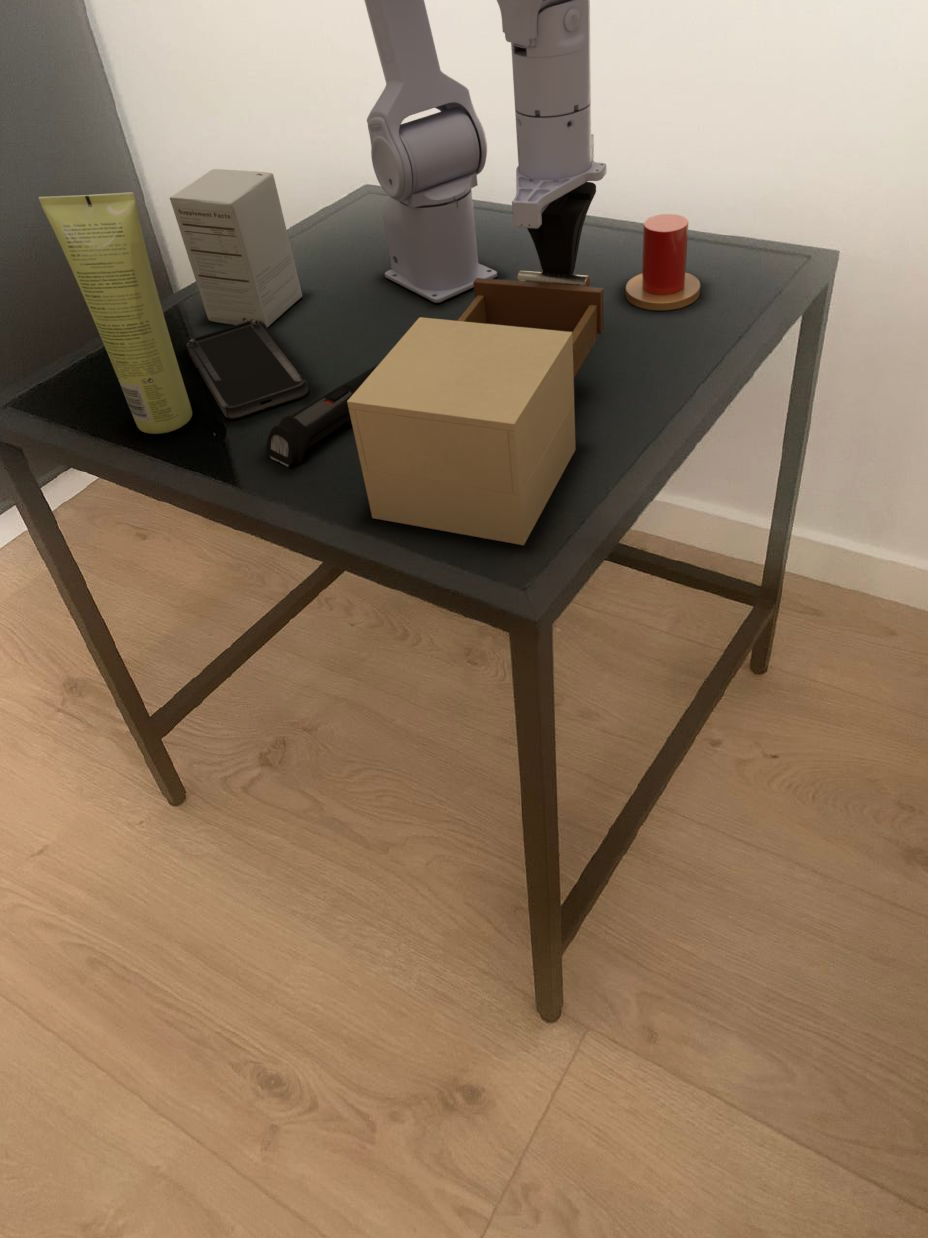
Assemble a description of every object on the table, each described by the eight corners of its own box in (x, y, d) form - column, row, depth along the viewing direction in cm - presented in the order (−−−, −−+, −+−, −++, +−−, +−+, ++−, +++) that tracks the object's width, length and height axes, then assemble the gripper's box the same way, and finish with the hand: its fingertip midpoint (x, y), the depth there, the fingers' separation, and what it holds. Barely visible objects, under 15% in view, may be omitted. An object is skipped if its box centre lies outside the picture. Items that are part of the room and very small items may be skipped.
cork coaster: (610, 295, 92) (610, 287, 92) (661, 270, 95) (661, 262, 94) (663, 318, 88) (663, 310, 87) (715, 291, 91) (716, 283, 90)
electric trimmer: (426, 385, 84) (422, 353, 82) (294, 470, 76) (285, 437, 74) (396, 374, 86) (391, 342, 84) (264, 455, 78) (255, 422, 76)
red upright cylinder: (633, 286, 91) (634, 224, 87) (662, 272, 93) (665, 210, 89) (663, 299, 89) (666, 235, 85) (693, 284, 90) (697, 220, 86)
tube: (186, 396, 87) (108, 174, 73) (209, 418, 84) (132, 190, 70) (128, 420, 85) (37, 196, 71) (149, 444, 82) (58, 214, 68)
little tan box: (435, 429, 78) (419, 316, 72) (575, 449, 74) (572, 331, 67) (372, 518, 71) (346, 401, 64) (524, 545, 67) (514, 423, 60)
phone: (259, 317, 94) (309, 382, 84) (262, 328, 95) (312, 393, 84) (182, 341, 92) (223, 410, 82) (186, 352, 93) (227, 422, 82)
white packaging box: (246, 289, 102) (212, 166, 93) (304, 297, 99) (275, 170, 90) (205, 322, 97) (166, 195, 88) (265, 331, 94) (231, 201, 86)
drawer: (498, 299, 84) (494, 255, 81) (617, 310, 80) (618, 264, 78) (426, 393, 74) (419, 346, 71) (559, 410, 70) (557, 361, 67)
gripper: (574, 140, 66) (578, 322, 75) (630, 74, 75) (627, 244, 84) (480, 137, 68) (495, 315, 78) (545, 74, 77) (551, 240, 87)
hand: (559, 278), depth 81 cm, fingers closed
